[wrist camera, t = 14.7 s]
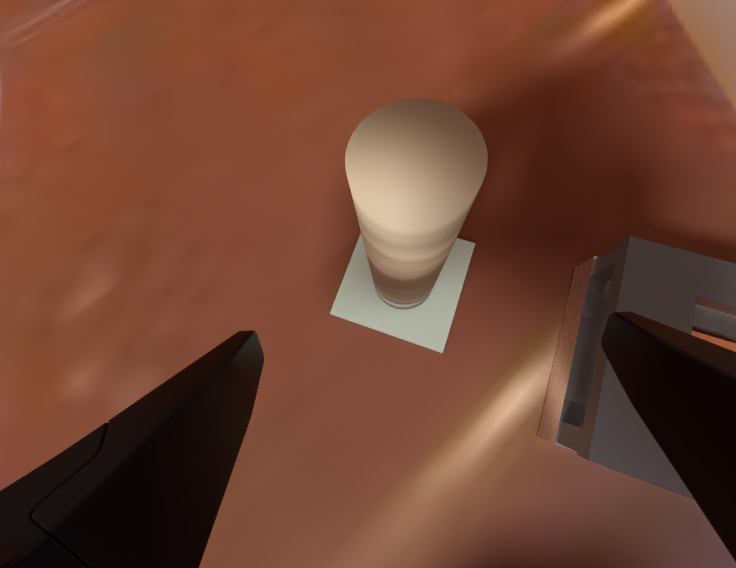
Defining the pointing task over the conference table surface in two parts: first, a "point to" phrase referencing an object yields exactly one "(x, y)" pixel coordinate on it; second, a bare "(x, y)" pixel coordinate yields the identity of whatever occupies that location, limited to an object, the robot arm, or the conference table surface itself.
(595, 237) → the conference table surface
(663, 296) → the guard plate
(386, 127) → the tan tall cylinder
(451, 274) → the pad
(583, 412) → the frame
